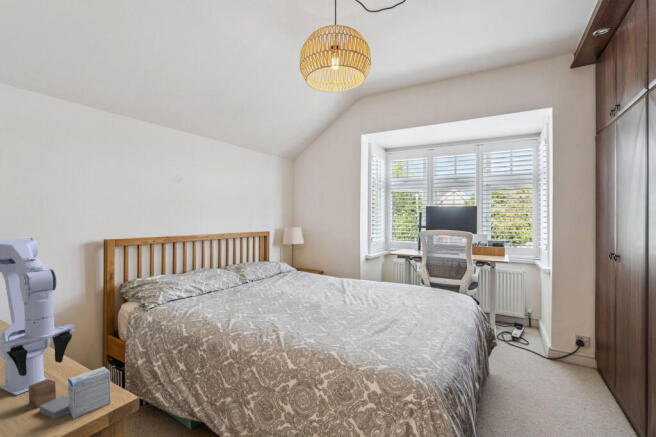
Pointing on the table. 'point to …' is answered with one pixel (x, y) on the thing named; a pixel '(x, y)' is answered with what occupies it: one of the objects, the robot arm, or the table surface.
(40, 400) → the walnut cube
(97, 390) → the medicine box
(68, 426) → the table surface
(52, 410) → the slate block
